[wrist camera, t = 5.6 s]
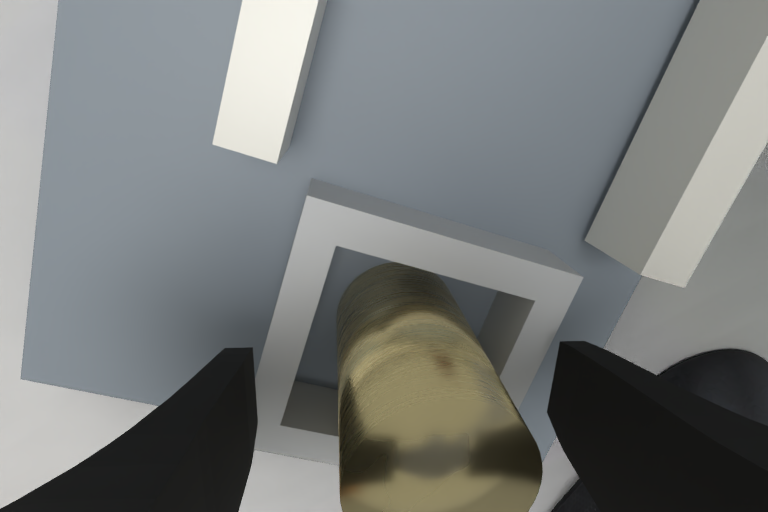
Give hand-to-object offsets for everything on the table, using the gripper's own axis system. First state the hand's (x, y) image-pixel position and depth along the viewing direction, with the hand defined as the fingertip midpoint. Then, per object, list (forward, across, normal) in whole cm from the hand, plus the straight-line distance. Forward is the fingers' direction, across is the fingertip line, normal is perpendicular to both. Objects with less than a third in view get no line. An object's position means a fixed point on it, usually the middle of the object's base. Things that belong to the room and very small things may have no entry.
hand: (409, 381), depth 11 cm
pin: (+3, 0, 0) cm, 3 cm away
